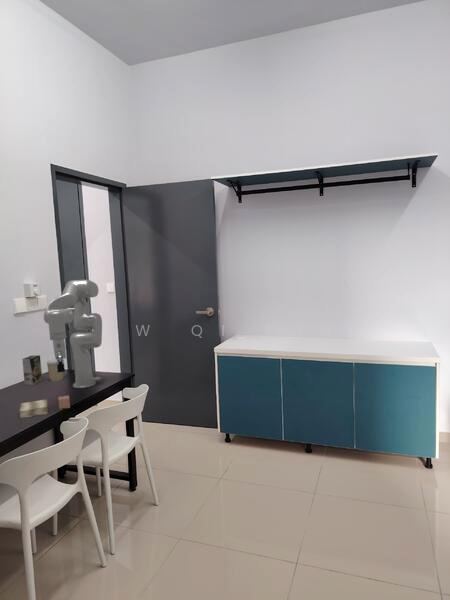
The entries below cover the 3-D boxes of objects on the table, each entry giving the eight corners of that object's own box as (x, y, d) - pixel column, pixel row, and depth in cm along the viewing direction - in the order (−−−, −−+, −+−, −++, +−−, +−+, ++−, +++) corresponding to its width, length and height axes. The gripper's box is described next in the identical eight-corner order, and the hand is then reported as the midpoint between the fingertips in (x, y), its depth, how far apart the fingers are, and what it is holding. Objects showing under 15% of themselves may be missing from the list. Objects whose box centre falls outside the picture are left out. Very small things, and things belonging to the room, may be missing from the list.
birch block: (47, 406, 218) (46, 399, 218) (47, 414, 207) (46, 406, 206) (21, 411, 213) (21, 403, 213) (20, 419, 202) (19, 411, 202)
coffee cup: (67, 378, 265) (65, 359, 264) (53, 382, 258) (51, 363, 257) (59, 376, 271) (58, 357, 270) (45, 380, 264) (43, 361, 263)
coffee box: (34, 385, 255) (31, 358, 253) (24, 385, 256) (21, 358, 254) (43, 380, 264) (40, 355, 262) (33, 380, 265) (31, 355, 263)
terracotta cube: (69, 404, 219) (68, 395, 218) (70, 407, 214) (69, 398, 213) (59, 406, 217) (58, 396, 216) (59, 409, 212) (58, 399, 212)
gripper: (66, 337, 205) (69, 372, 206) (65, 332, 220) (68, 364, 222) (49, 339, 202) (53, 375, 204) (49, 334, 218) (52, 366, 219)
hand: (61, 369), depth 213 cm, fingers open, 9 cm apart
